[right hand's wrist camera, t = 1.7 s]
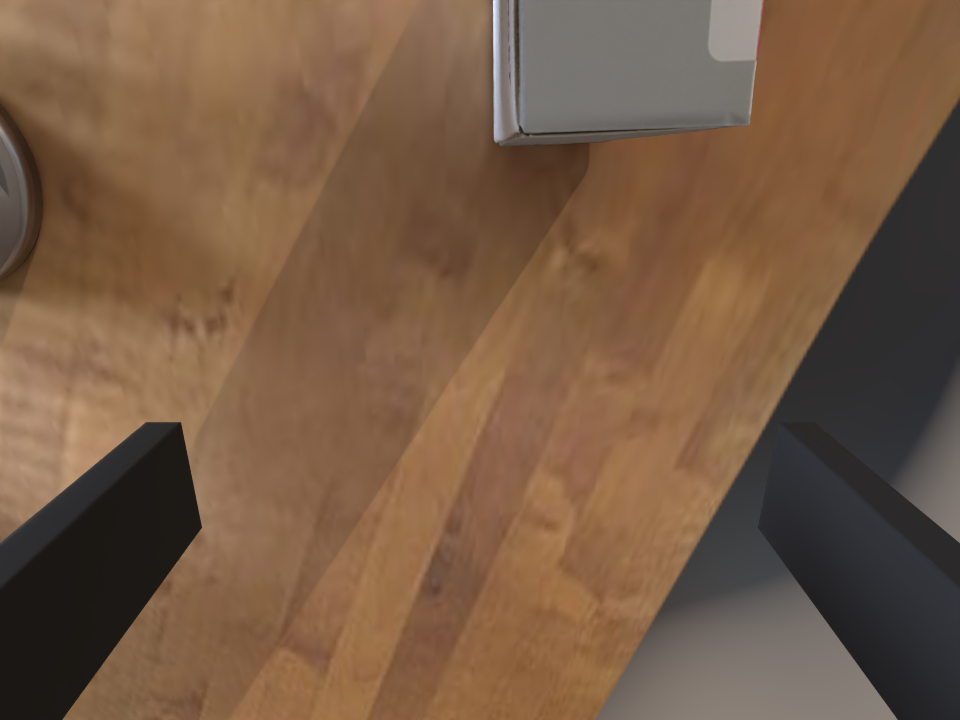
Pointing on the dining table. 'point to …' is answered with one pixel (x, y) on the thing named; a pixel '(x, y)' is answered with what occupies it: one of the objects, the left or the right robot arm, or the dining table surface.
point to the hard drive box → (621, 68)
